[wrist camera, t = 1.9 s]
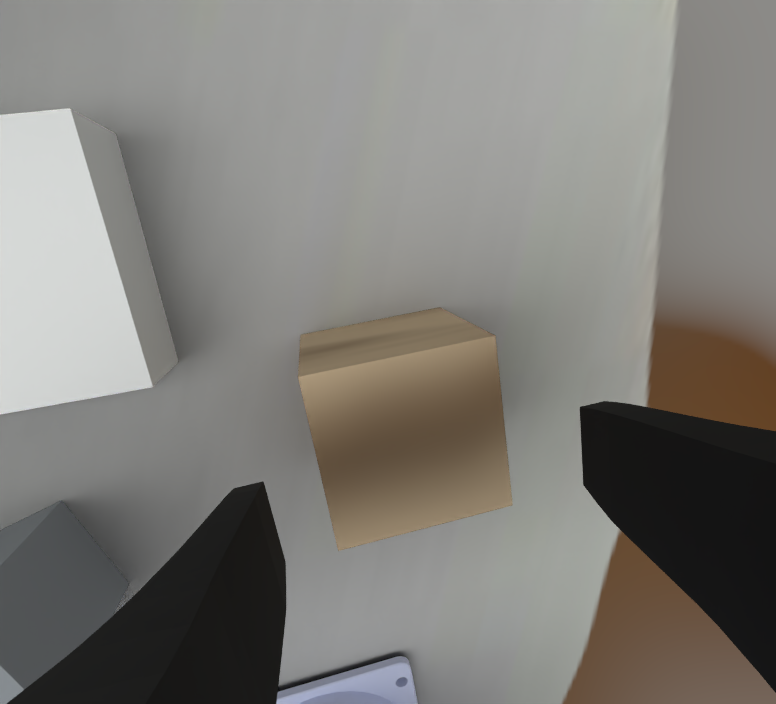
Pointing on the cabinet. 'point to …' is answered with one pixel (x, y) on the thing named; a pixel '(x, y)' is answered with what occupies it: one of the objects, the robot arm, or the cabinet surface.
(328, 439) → the oak block
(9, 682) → the slate block
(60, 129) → the white base block
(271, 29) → the cabinet surface
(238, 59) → the cabinet surface
